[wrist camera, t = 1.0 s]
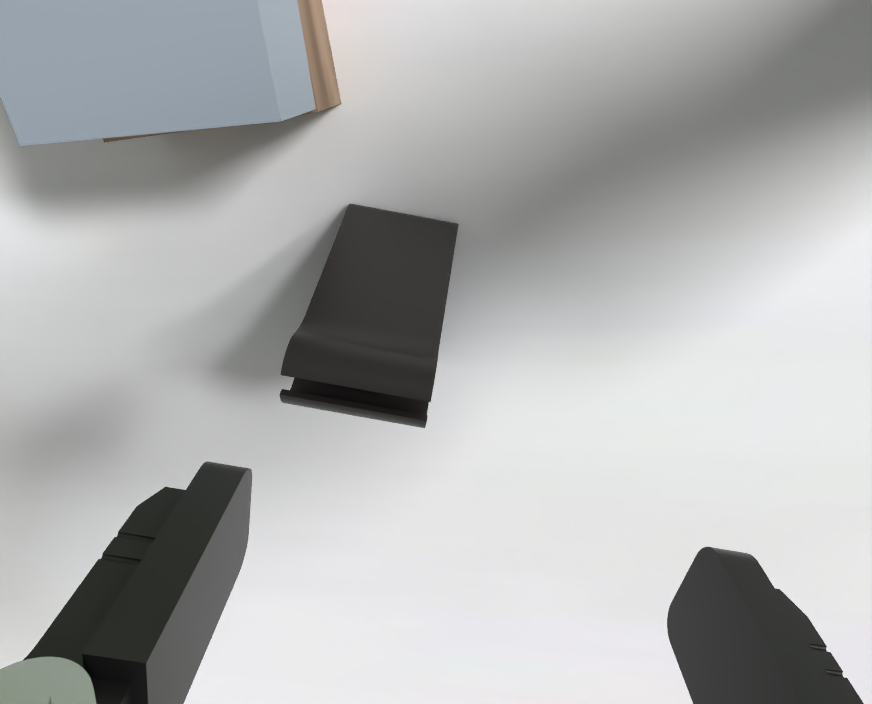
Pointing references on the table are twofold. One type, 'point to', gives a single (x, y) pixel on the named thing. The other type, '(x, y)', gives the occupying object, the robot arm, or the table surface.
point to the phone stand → (375, 319)
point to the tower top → (149, 66)
